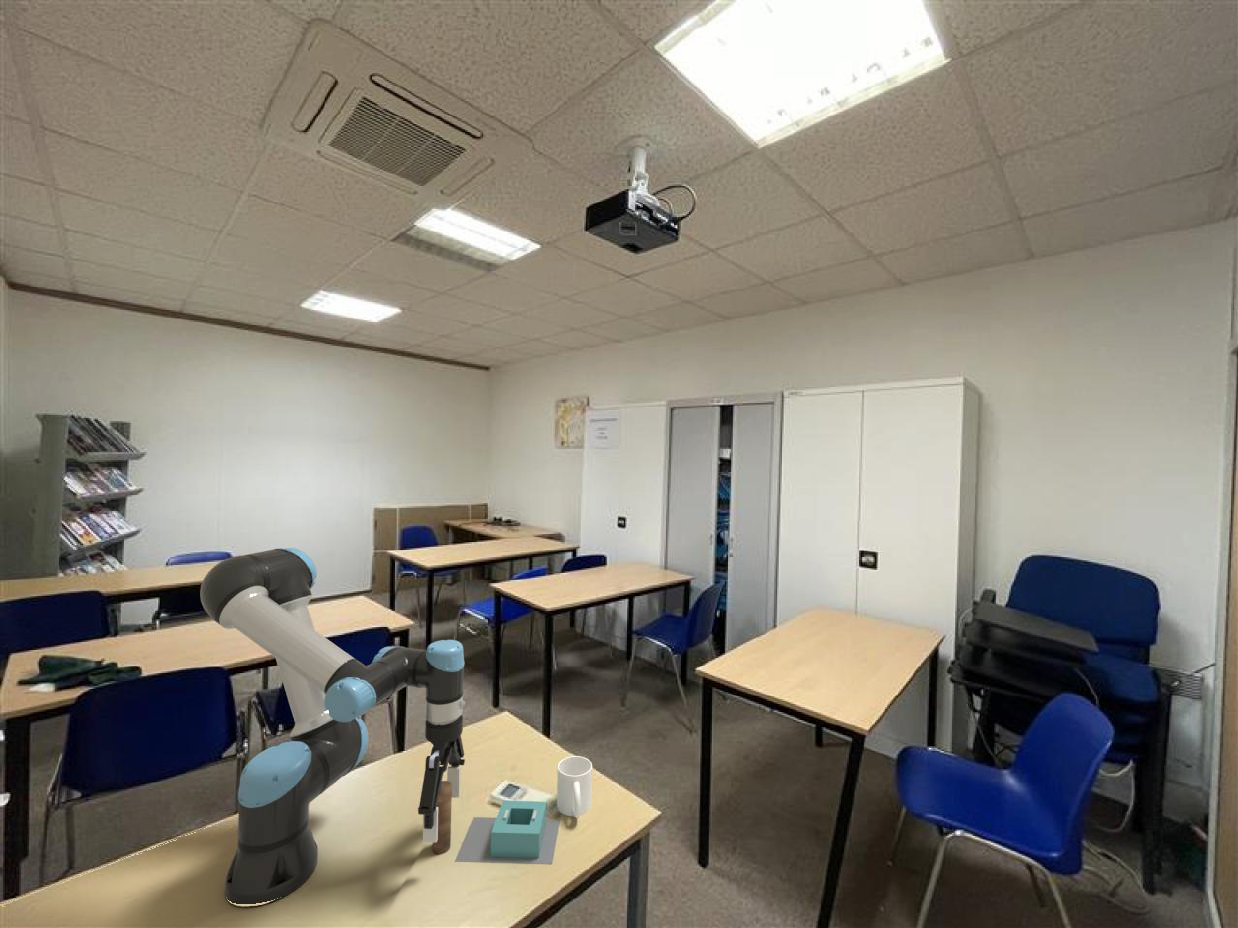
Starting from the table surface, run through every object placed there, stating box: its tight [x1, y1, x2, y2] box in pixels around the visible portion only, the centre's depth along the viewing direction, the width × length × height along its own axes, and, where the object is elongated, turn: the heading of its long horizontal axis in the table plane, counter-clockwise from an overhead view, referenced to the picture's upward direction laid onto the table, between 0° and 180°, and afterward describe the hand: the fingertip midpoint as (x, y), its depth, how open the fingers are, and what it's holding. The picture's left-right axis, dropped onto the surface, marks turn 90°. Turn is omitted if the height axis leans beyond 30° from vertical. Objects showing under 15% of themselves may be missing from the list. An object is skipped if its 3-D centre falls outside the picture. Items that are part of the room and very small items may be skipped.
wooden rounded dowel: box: [432, 780, 453, 856], centre depth 106 cm, size 4×4×14 cm
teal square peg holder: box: [491, 799, 548, 858], centre depth 109 cm, size 10×10×6 cm
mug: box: [556, 755, 593, 819], centre depth 119 cm, size 12×8×10 cm
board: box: [454, 816, 561, 865], centre depth 109 cm, size 20×13×1 cm, turn 89°
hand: (442, 817), depth 106 cm, fingers open, 13 cm apart
